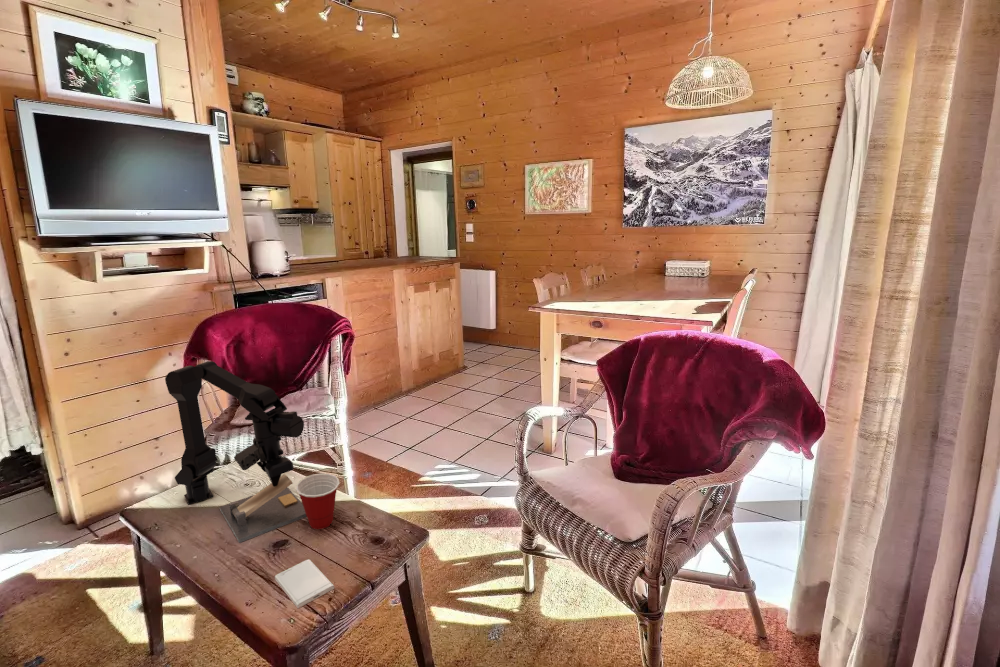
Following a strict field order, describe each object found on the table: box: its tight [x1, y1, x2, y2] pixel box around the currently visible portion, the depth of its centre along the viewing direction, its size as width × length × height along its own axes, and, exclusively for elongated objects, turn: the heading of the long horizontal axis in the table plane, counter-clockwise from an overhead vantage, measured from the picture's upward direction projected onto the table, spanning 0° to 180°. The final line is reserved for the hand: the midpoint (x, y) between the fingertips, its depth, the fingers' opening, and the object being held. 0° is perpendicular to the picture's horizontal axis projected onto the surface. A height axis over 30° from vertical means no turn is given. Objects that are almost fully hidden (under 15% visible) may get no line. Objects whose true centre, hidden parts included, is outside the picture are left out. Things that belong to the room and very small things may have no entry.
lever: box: [232, 473, 293, 520], centre depth 139 cm, size 5×16×2 cm, turn 131°
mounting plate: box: [219, 486, 307, 544], centre depth 139 cm, size 20×18×4 cm
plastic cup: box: [295, 472, 340, 530], centre depth 133 cm, size 11×11×12 cm
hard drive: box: [274, 559, 335, 609], centre depth 112 cm, size 2×8×12 cm
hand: (275, 485), depth 141 cm, fingers closed, pressing on lever
